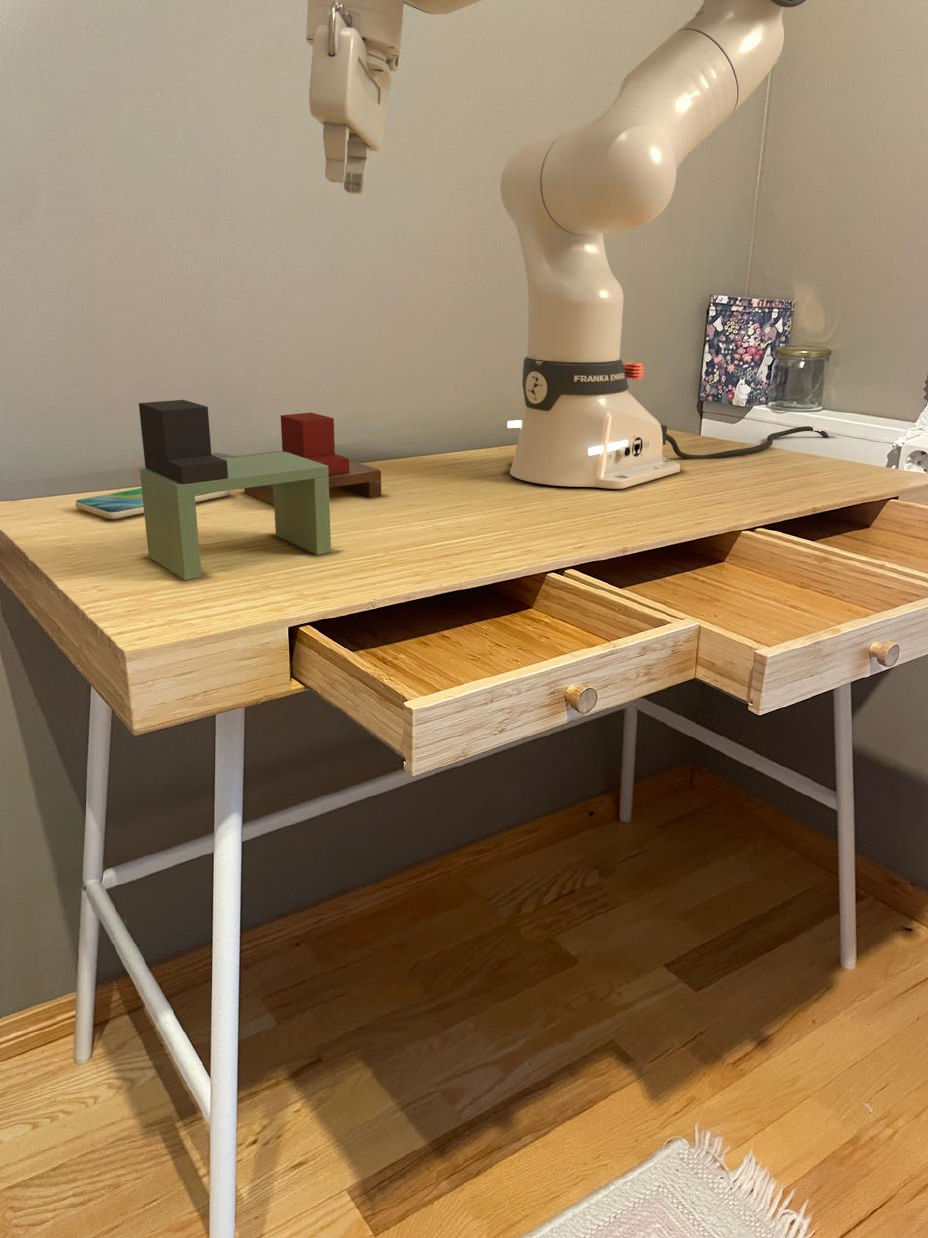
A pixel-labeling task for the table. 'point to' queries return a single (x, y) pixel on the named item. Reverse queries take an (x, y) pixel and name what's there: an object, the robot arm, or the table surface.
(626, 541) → the table surface
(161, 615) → the table surface
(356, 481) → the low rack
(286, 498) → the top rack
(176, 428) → the dark stepped block
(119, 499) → the smartphone
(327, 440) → the red l-shaped step block
